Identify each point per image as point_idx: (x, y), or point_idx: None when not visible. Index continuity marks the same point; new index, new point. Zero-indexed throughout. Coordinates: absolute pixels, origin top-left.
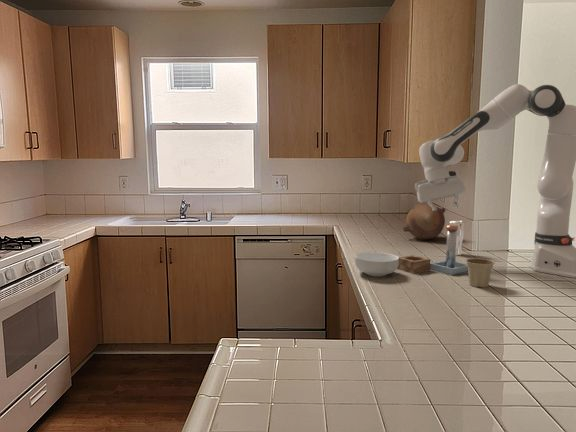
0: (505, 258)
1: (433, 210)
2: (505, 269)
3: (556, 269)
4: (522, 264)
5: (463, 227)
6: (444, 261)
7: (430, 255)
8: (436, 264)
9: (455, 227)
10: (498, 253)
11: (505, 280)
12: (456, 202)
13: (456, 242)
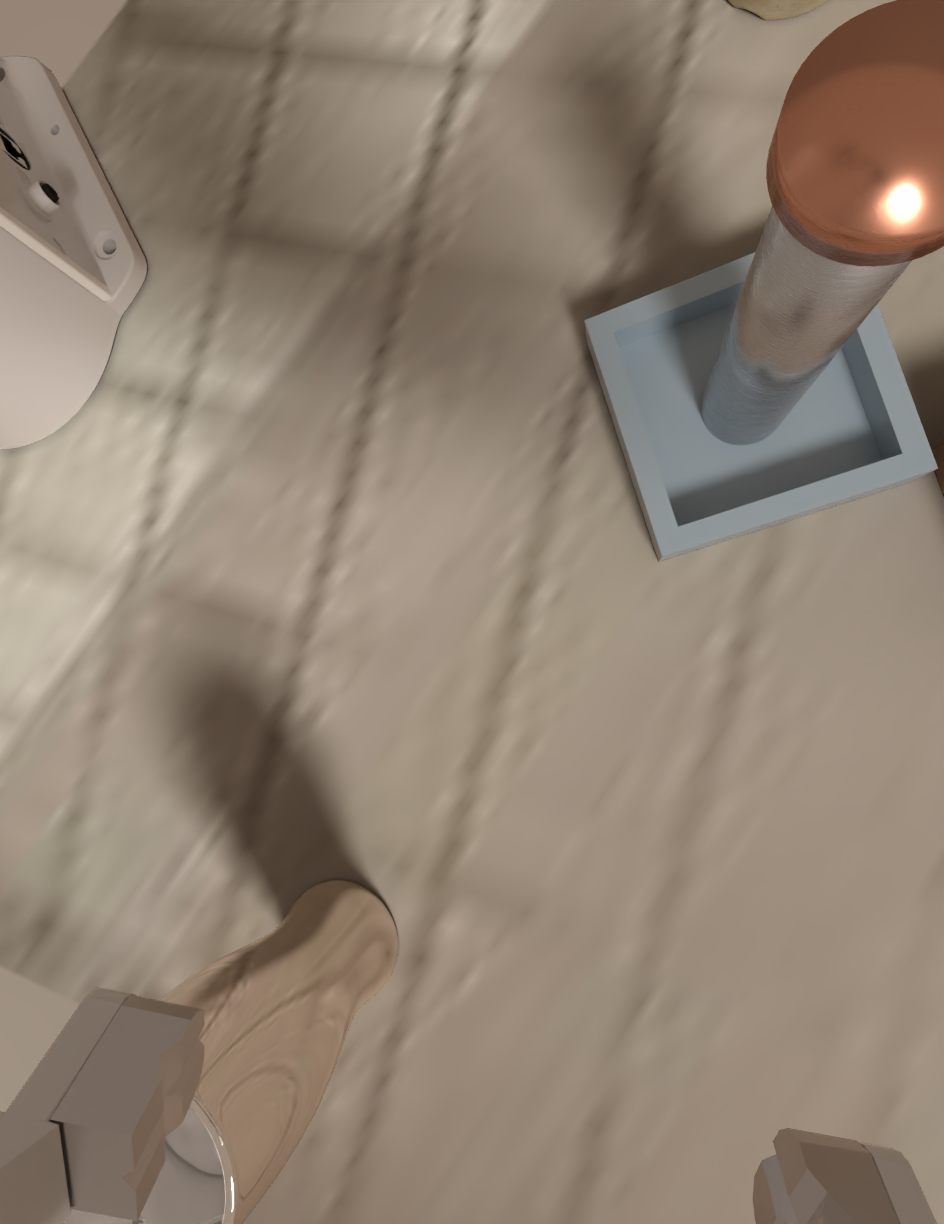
0: (78, 667)
1: (876, 1160)
2: (293, 360)
3: (46, 175)
4: (91, 469)
5: None
6: (740, 508)
7: (585, 975)
8: (895, 413)
9: (905, 6)
10: (19, 830)
11: (498, 69)
12: (88, 1072)
13: (312, 944)
